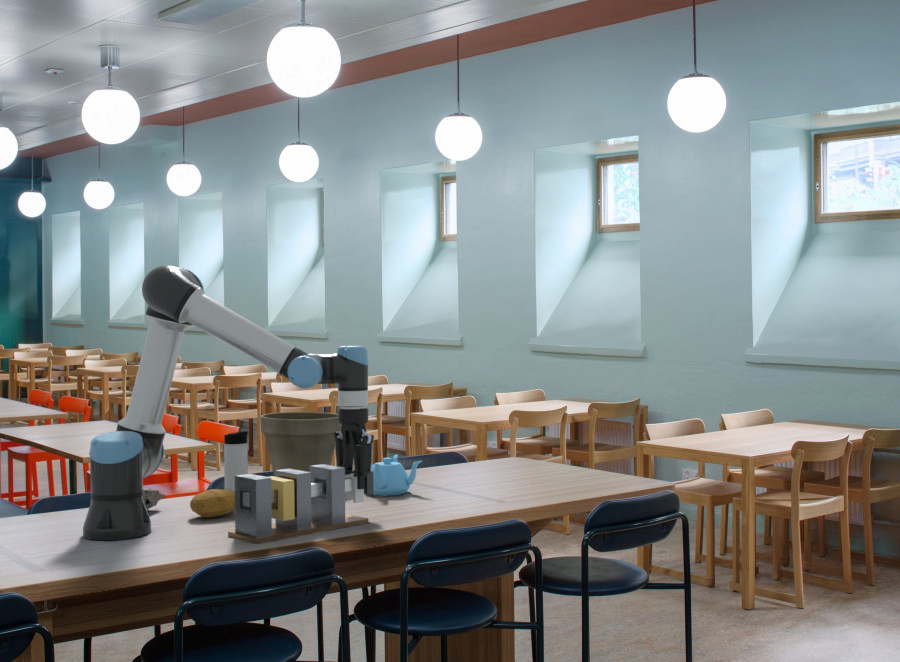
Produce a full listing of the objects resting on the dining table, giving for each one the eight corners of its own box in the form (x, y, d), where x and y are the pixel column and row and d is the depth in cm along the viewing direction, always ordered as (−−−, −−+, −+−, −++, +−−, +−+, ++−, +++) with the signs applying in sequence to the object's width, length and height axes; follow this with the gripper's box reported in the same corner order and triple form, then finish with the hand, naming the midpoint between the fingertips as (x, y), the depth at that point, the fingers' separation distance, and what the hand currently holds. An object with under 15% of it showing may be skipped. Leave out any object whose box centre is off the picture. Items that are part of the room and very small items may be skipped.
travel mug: (243, 506, 257) (242, 432, 257) (220, 505, 259) (220, 432, 258) (252, 502, 263) (252, 429, 263) (230, 501, 265) (229, 429, 265)
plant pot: (359, 482, 295) (358, 412, 295) (308, 495, 273) (308, 419, 273) (296, 477, 307) (295, 410, 307) (243, 488, 286) (242, 416, 286)
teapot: (354, 492, 279) (353, 457, 279) (399, 487, 286) (399, 452, 286) (376, 499, 266) (375, 462, 266) (423, 494, 274) (422, 458, 274)
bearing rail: (256, 543, 212) (255, 481, 212) (228, 535, 221) (227, 475, 220) (368, 522, 234) (368, 465, 234) (338, 515, 243) (338, 461, 243)
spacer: (283, 520, 219) (283, 481, 219) (262, 515, 225) (261, 477, 225) (294, 519, 221) (294, 480, 221) (272, 513, 227) (272, 476, 227)
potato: (185, 516, 245) (185, 489, 245) (234, 510, 251) (234, 484, 251) (195, 522, 237) (194, 494, 237) (245, 516, 243) (244, 489, 243)
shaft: (253, 513, 215) (252, 488, 215) (239, 510, 219) (239, 485, 219) (373, 493, 239) (373, 471, 239) (359, 491, 243) (359, 469, 243)
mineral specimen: (133, 529, 253) (156, 523, 247) (110, 512, 249) (133, 505, 243) (149, 499, 259) (172, 492, 254) (127, 482, 255) (149, 474, 250)
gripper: (385, 408, 235) (386, 503, 235) (345, 404, 247) (346, 495, 247) (361, 410, 230) (362, 507, 230) (321, 406, 242) (322, 499, 242)
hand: (354, 500), depth 239 cm, fingers closed on shaft, 3 cm apart
